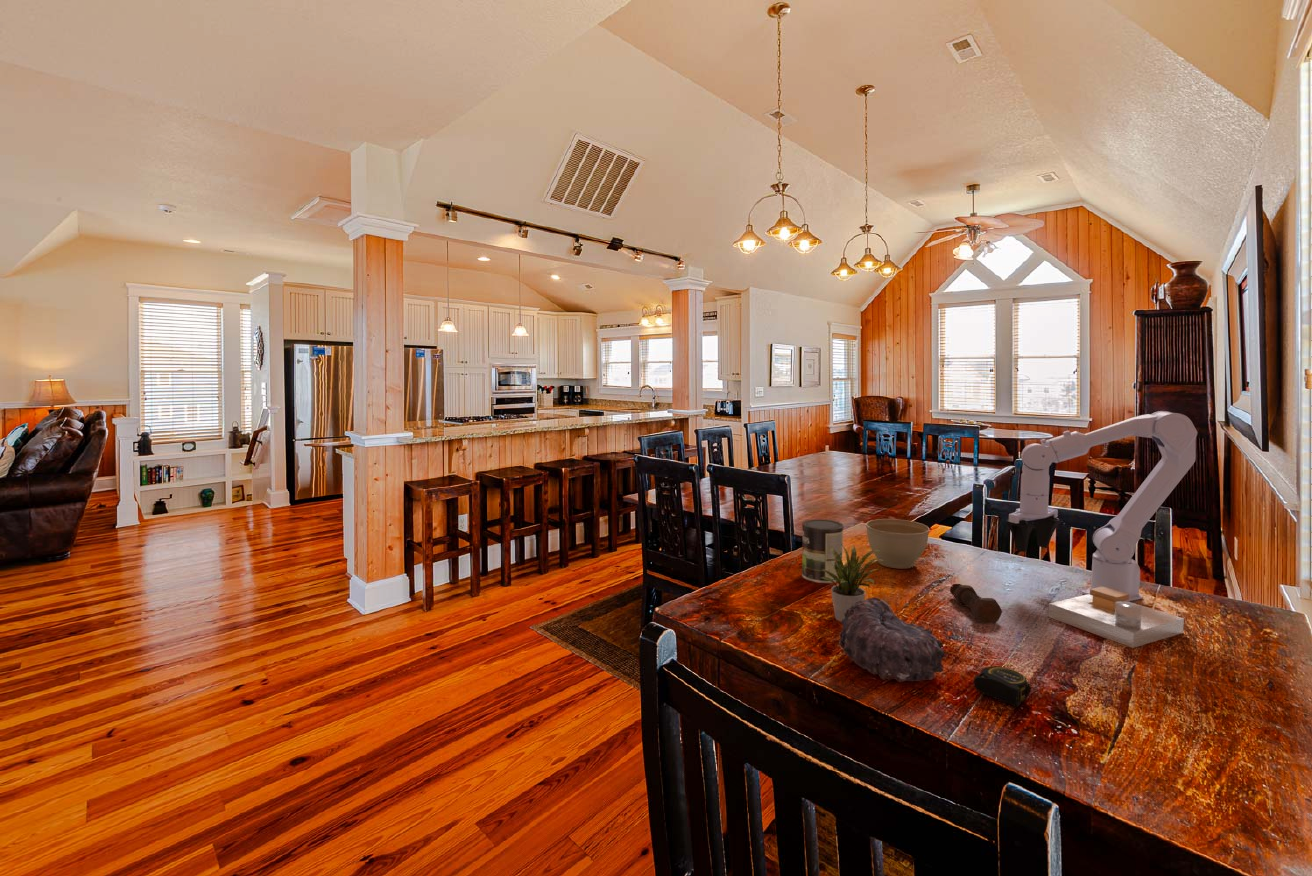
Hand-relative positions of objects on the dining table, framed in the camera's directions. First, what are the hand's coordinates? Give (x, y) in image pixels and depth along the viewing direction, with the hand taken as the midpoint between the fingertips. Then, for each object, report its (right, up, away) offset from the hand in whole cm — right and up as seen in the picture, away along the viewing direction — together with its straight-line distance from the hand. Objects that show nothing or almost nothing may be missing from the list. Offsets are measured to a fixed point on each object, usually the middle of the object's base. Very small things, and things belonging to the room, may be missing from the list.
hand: (1031, 548), depth 143 cm
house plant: (-49, -12, -17) cm, 53 cm away
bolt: (-21, -12, -12) cm, 27 cm away
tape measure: (-36, -15, -48) cm, 62 cm away
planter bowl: (-25, -8, +20) cm, 33 cm away
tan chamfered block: (+4, -11, -19) cm, 22 cm away
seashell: (-49, -14, -36) cm, 63 cm away
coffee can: (-48, -10, +11) cm, 50 cm away
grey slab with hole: (+3, -12, -22) cm, 25 cm away
